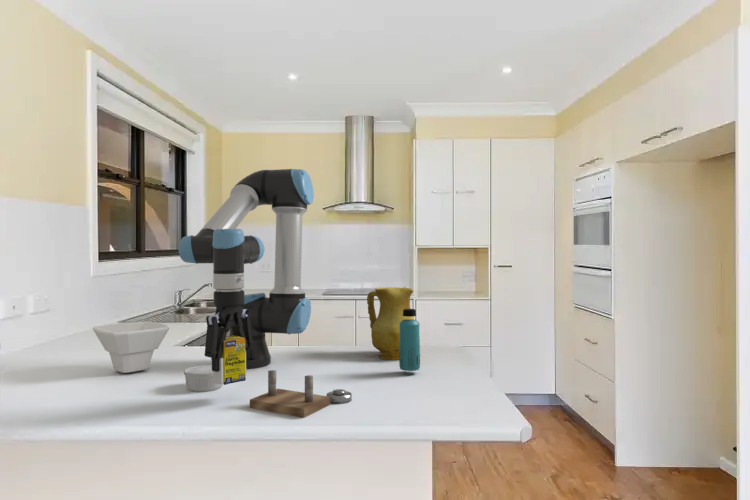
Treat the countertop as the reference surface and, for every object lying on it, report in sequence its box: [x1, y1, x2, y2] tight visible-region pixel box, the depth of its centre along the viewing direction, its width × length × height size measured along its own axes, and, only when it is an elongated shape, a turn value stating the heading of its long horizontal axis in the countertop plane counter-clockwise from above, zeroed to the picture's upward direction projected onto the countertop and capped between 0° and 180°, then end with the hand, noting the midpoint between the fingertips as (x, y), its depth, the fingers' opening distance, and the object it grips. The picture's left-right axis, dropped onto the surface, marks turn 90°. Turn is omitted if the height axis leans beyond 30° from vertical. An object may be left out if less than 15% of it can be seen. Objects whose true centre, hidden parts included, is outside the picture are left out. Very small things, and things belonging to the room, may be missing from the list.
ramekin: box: [183, 364, 224, 393], centre depth 146 cm, size 11×11×5 cm
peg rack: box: [249, 369, 331, 418], centre depth 129 cm, size 16×11×8 cm
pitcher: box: [366, 286, 414, 361], centre depth 188 cm, size 17×19×25 cm
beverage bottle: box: [398, 308, 421, 372], centre depth 162 cm, size 6×7×20 cm
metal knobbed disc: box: [326, 388, 353, 405], centre depth 135 cm, size 6×6×2 cm
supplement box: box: [216, 335, 247, 386], centre depth 133 cm, size 6×6×11 cm
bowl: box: [92, 321, 170, 374], centre depth 164 cm, size 19×19×14 cm
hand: (230, 379), depth 134 cm, fingers closed on supplement box, 7 cm apart
